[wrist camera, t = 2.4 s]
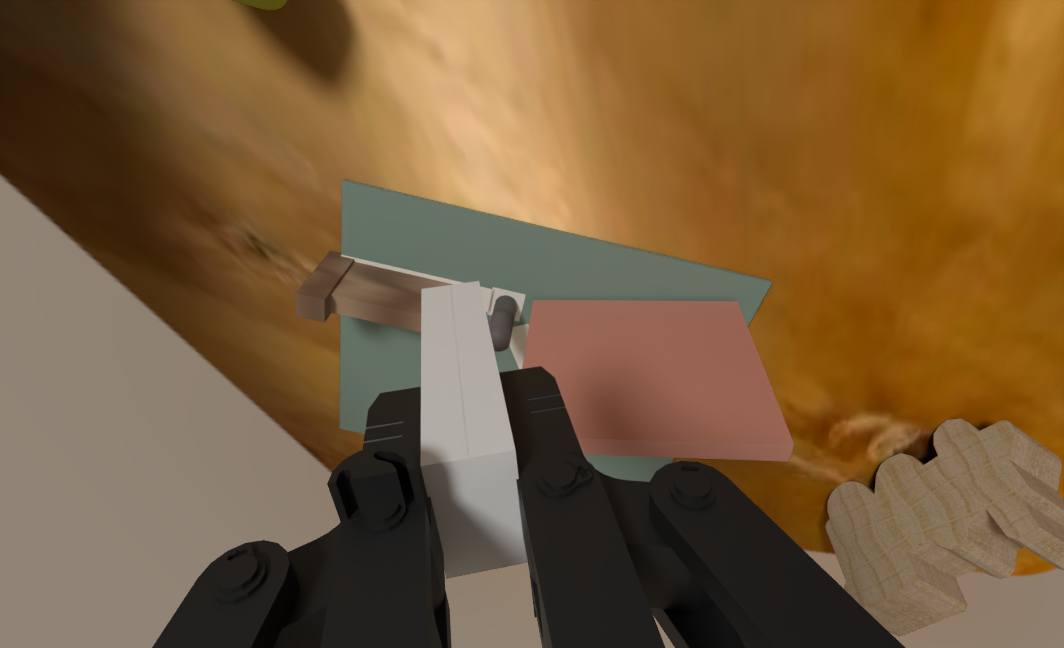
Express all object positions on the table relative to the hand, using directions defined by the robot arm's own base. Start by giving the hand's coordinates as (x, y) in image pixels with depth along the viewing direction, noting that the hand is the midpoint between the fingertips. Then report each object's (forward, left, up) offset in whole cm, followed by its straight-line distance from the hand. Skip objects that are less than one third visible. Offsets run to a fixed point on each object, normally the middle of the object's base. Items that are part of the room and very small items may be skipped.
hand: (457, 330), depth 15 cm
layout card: (+4, -18, -22) cm, 29 cm away
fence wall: (-5, -13, -22) cm, 26 cm away
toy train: (+37, -21, -22) cm, 48 cm away
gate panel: (+10, -11, -21) cm, 26 cm away
